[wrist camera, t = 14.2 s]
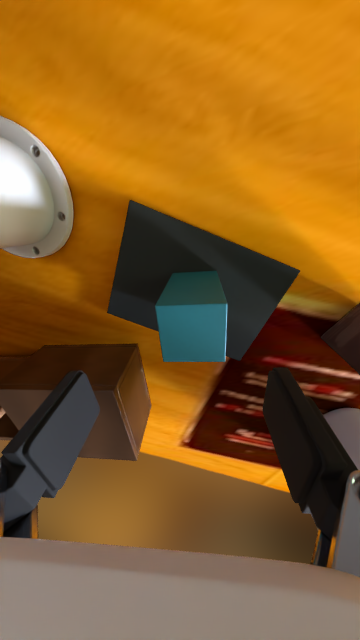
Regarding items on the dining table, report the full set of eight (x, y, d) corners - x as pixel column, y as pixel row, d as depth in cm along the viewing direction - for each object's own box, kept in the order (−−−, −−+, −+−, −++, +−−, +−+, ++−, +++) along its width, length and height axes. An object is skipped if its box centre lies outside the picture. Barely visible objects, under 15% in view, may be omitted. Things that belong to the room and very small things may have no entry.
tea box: (176, 312, 25) (162, 362, 16) (172, 273, 23) (154, 305, 14) (216, 311, 24) (225, 362, 16) (216, 270, 22) (227, 303, 13)
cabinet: (72, 403, 37) (36, 454, 29) (44, 344, 30) (-13, 389, 22) (151, 405, 35) (136, 461, 27) (137, 343, 29) (113, 391, 20)
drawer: (-8, 403, 38) (-51, 441, 31) (-46, 352, 32) (-109, 385, 25) (80, 405, 35) (53, 447, 29) (55, 351, 30) (14, 387, 23)
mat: (108, 311, 26) (107, 313, 26) (131, 200, 20) (129, 199, 20) (239, 358, 28) (239, 361, 28) (298, 269, 22) (300, 271, 21)
